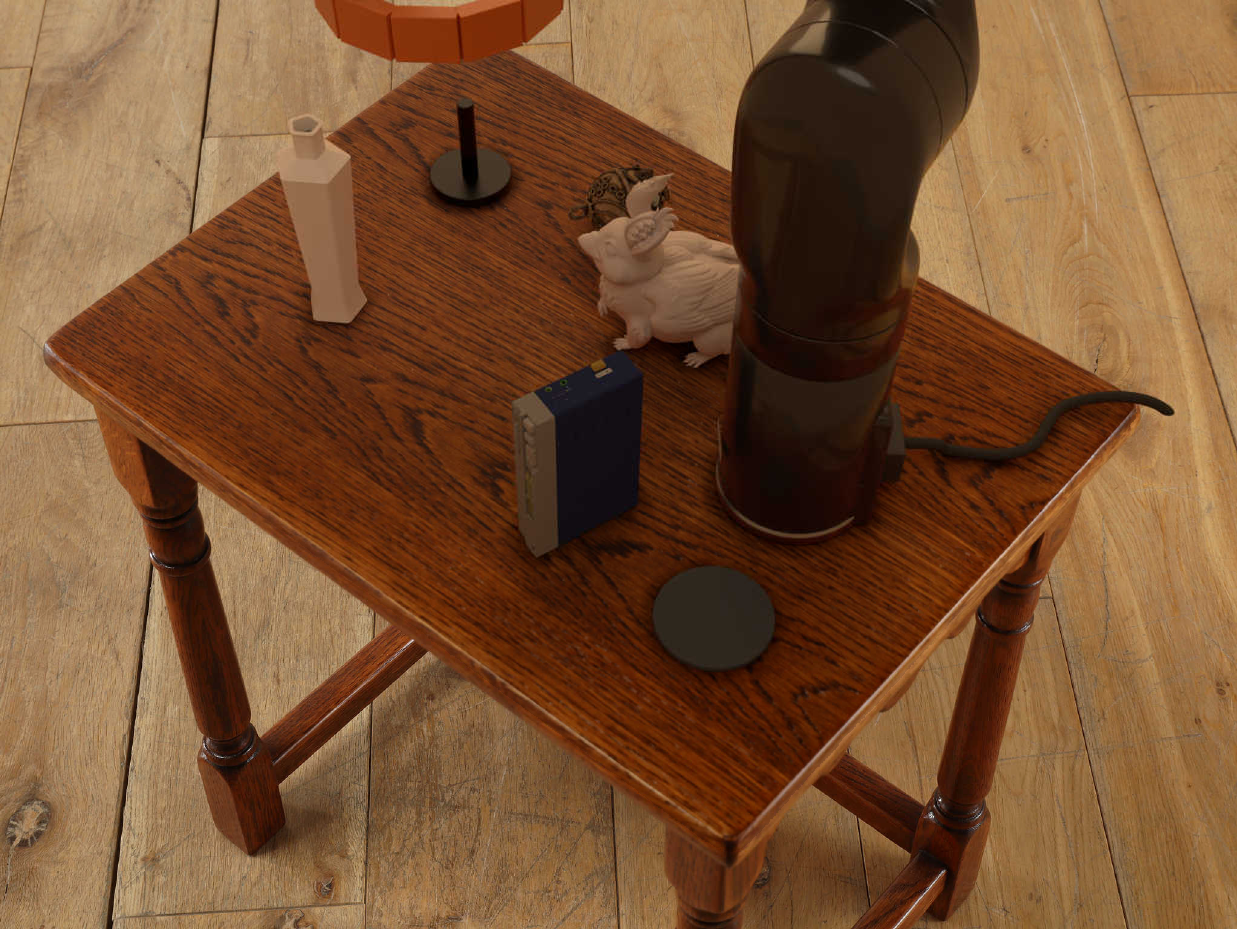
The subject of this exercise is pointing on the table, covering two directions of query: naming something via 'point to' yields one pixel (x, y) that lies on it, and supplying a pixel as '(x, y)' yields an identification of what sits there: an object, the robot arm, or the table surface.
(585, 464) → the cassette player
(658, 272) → the figurine
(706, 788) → the table surface
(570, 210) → the pendant
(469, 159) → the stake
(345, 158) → the perfume bottle
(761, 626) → the coaster
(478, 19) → the hoop
